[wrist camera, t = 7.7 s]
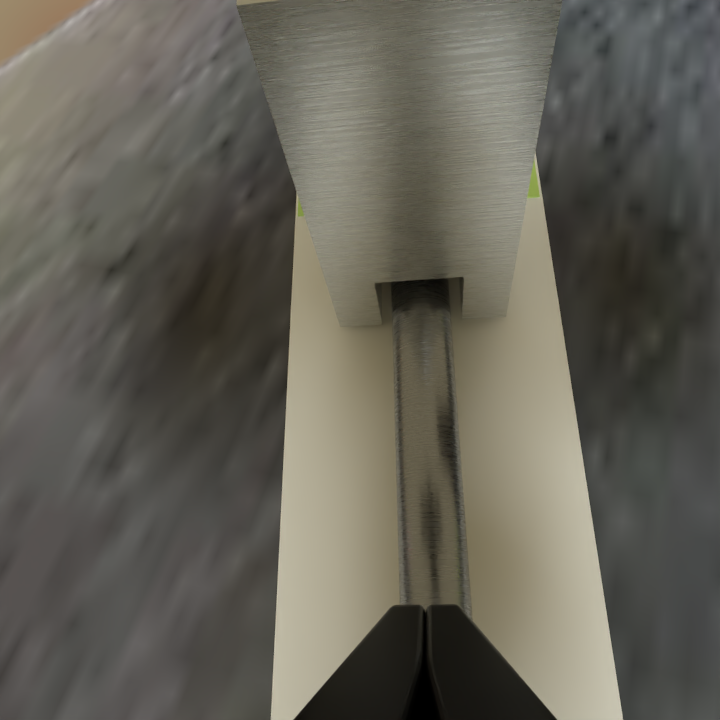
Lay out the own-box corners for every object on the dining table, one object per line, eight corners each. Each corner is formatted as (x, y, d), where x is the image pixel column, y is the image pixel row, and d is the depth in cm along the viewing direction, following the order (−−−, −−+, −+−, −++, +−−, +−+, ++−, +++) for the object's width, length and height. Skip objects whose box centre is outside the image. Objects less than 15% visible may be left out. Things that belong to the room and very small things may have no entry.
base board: (646, 907, 15) (697, 973, 12) (268, 893, 16) (225, 950, 13) (522, 92, 26) (533, 16, 23) (304, 113, 27) (285, 43, 24)
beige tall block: (505, 317, 20) (568, -34, 10) (340, 327, 21) (236, 5, 11) (491, 193, 23) (531, -203, 12) (341, 205, 23) (256, -163, 13)
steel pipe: (490, 837, 15) (497, 863, 13) (404, 835, 15) (398, 859, 13) (437, 104, 24) (436, 60, 23) (385, 109, 25) (380, 66, 23)
